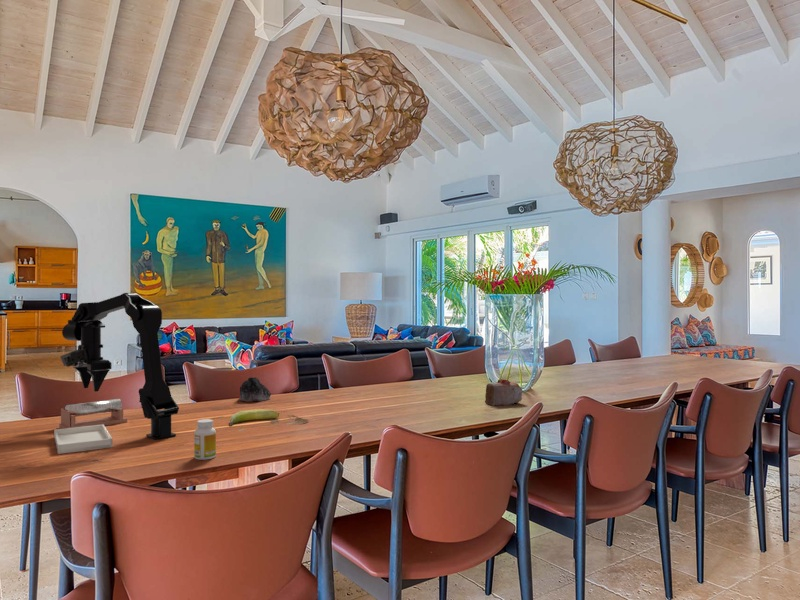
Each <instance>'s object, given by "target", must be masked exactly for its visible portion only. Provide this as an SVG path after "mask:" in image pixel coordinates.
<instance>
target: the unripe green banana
mask: <svg viewBox="0 0 800 600" xmlns="http://www.w3.org/2000/svg"><path fill="white" fill-rule="evenodd" d="M280 412H281V413H288V411H286V410H284V411H280ZM280 412H279V411H277V410H276V409H275V410H274V409H263V408H262V409H259V408H258V409H257V408H256V409H248V410H241V411H237V412H235V413H234V414H232V415H231V416H230V419H229V421H230V422H229V423H228V425H229V426H230V427H231V426H234V425H236V424H240V423H244V422H245V423H246V422H251V421H261V420H262V421H264V420H269V422H270V423H269V424H270V425H272V424H277V423H279V422H281V421H280V419H277V418H279V417H280ZM286 416H287V417H288V419H290V420H292V419H293V420H294V421H295V422H294V421H290V422H289V423H286V425H298V426H299V425H304V424H306V423H308V422H309V420H308V419H305V418H303V417H298V416H295V415H294V414H287V415H286ZM221 418H224V416H223V415H222V416H218V417H217V419H221ZM214 419H216V417H213V418H211V420H214ZM269 424H268V425H267V427H268V426H270V425H269ZM280 426H281V427H282V425H280V424H278V425H276V427H280ZM246 429H249V427H248V428H247V427H246V428H240V429H238V430H237V432H242V431H244V430H246Z"/></svg>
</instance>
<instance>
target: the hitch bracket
mask: <svg viewBox="0 0 800 600" xmlns="http://www.w3.org/2000/svg"><path fill="white" fill-rule="evenodd" d="M110 415H111V416H105V417H98V418H89V419H83V420H78V421H76V417H75V415H70V411H68V410H65V408H63V407H62V408H61V409H60V423H59V424H58V429H65V428H74V427H84V426H94V425H103V424H104V426H105V427H106V426H110V425H117V424H124V423H128V418H127V417H125V416H124V408H121V409H118V411H114V412H110Z"/></svg>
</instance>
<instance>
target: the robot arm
mask: <svg viewBox="0 0 800 600" xmlns="http://www.w3.org/2000/svg"><path fill="white" fill-rule="evenodd" d="M123 309H124V311H125V314H126V315H127V316H129V318H131V321H132V325H133V328H134V330H135V331H136V332H137V333H138V335H139V338H140V348H141V354H142V355H141V356H142V364H143V373H144V385H143V386H142V387H141V388H139V389H138V396H139V400H138V401H139V403H140V405H141V409H142V413H143V416H144V418H145V419H147V420H149V419H150V433H146V437H148V438H151V439H153V440H160V439H165V438H171V437H176V436H177V433H174V432H172V416H173V415H177V414H178V413H179V410H180V407H179V406H178V404H177V402H176V401H175V400H174V398H173V396H172V393H171V390H170V387H169V385H168V384H167V383H166V381H165V380H164V378H163V370H162V368H163V367H162V359H161V350H160V342H159V331H160V329H161V328H162V323H163V318H162V317H163V313H162V312H163V311H162V309H161V307H159V306H158V305H157V304H154V303H153V302H152V301H150V300H148V299H146V298H145V297H142V296H141V295H140V294H138V293H136V292H123V293H121V294H119V295H116V296H113V297H110V298H107V299H103V300H101V301H94V302H81V303H80V304H78V306H77V308H76V310H75V312H74V314H73V316H72V318H71V319H68V320H67V323H66V325H64V326H63V328H62V330H61V333H62V334H61V335H62V336H63V338H64V339H65V340H67V341H78V342H80V344H78V345H77V349H75V350H73V351H70V352H68V353H65V354H63V355H61V356H60V359H61V362H62V364H63V366H64V367H65V366H66V367H72V368H73V369H74V370H76V371H77V372H78V374H79V377H80V379H81V383H82V387H83V388H84V389H89V385H90V384H91V383H90V382H91V379H92V386H93V391H94V392H95V393H96V392H99V391H100V389H101V386H102V385H103V382H104V381H105V378H106V377H107V375H108V373H109V372H110V370H112V362H111V361H110V360H109V359H104V357H103V356H101V355H102V350H101V349H102V348H104V344H103V343H102V329H103V328H106V325H105V324H104V323H103V322H102V320H103V319H105V318H106V317H107V316H108V315H109V314H110V313H112V312H116V311H120V310H123Z"/></svg>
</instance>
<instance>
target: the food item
mask: <svg viewBox="0 0 800 600" xmlns="http://www.w3.org/2000/svg"><path fill="white" fill-rule="evenodd" d="M484 398H485V400H484V403H485V404H486V405H489V406H491V407H494V406H495V405H496V406H509V405H515V404H514V403H517V404H519V403H521V402H522V400H523V388H522V387H521V386H520V384H519V383H518V382H515V381H512V382H510V380H508V379H498V380H497V382H492V383H491V382H489V383H487V384H486V386H485V397H484Z"/></svg>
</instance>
